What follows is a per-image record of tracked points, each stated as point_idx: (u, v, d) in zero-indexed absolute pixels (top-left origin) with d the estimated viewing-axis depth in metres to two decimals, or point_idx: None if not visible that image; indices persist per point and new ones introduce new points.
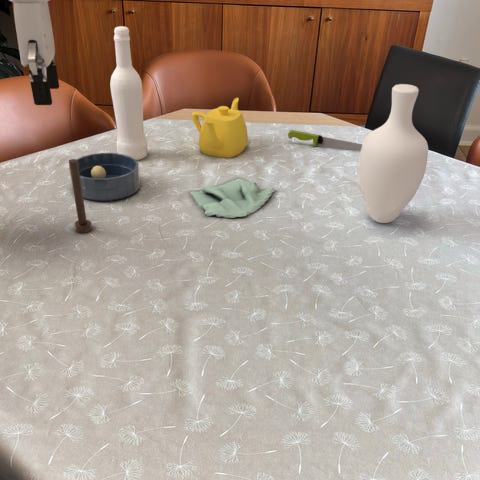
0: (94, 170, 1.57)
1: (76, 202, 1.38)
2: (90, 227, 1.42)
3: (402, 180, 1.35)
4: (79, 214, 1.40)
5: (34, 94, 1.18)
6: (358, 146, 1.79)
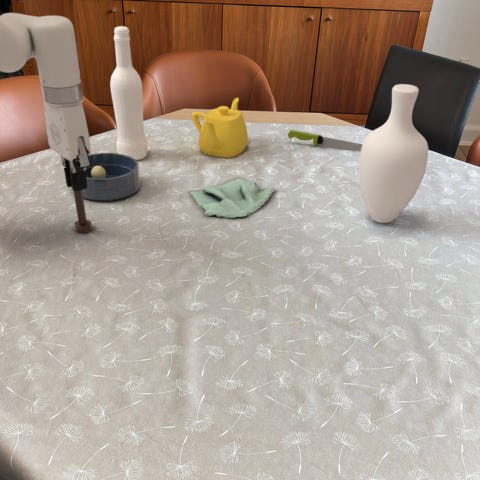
0: (94, 170, 1.57)
1: (76, 202, 1.38)
2: (90, 227, 1.42)
3: (402, 180, 1.35)
4: (79, 214, 1.40)
5: (73, 182, 1.34)
6: (358, 146, 1.79)
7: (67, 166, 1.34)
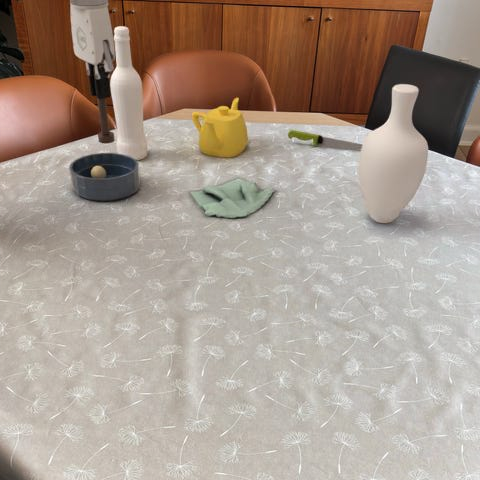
0: (94, 170, 1.57)
1: (100, 111, 1.43)
2: (113, 138, 1.47)
3: (402, 180, 1.35)
4: (103, 124, 1.45)
5: (98, 90, 1.39)
6: (358, 146, 1.79)
7: (91, 74, 1.39)
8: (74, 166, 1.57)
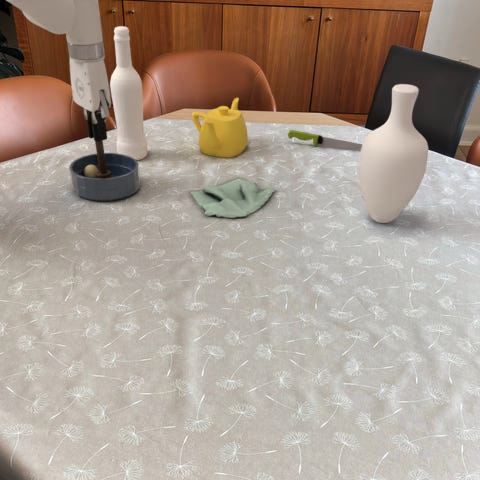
0: (84, 170, 1.58)
1: (97, 152, 1.54)
2: (110, 176, 1.58)
3: (402, 180, 1.35)
4: (100, 163, 1.56)
5: (95, 133, 1.50)
6: (358, 146, 1.79)
7: (89, 119, 1.50)
8: (74, 166, 1.57)
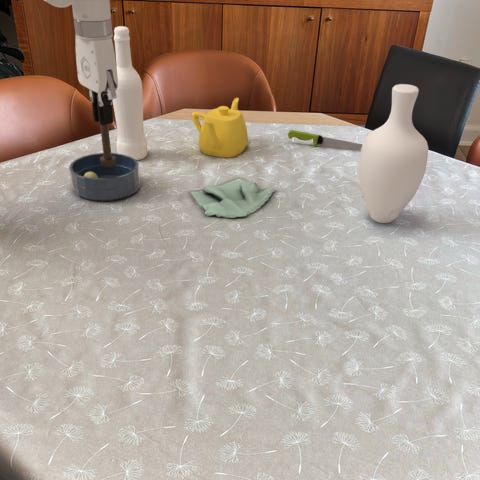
0: None
1: (102, 136, 1.48)
2: (114, 162, 1.51)
3: (402, 180, 1.35)
4: (105, 148, 1.49)
5: (101, 116, 1.43)
6: (358, 146, 1.79)
7: (95, 101, 1.43)
8: (74, 166, 1.57)
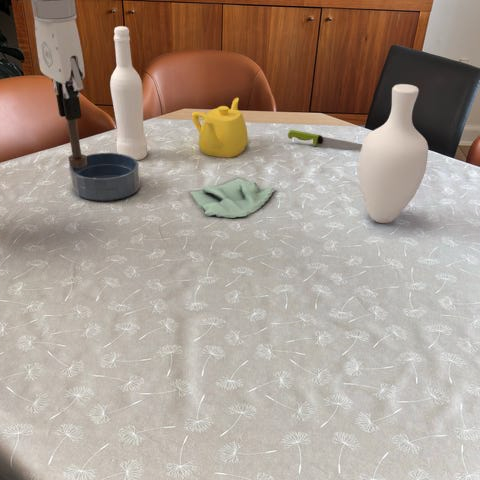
0: None
1: (70, 133, 1.30)
2: (85, 162, 1.34)
3: (402, 180, 1.35)
4: (73, 146, 1.32)
5: (67, 110, 1.26)
6: (358, 146, 1.79)
7: (60, 93, 1.26)
8: None
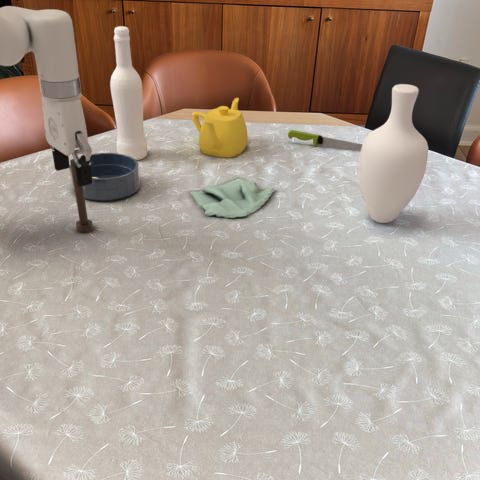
0: None
1: (77, 202, 1.38)
2: (91, 227, 1.42)
3: (402, 180, 1.35)
4: (81, 214, 1.40)
5: (78, 177, 1.30)
6: (358, 146, 1.79)
7: (55, 149, 1.34)
8: None
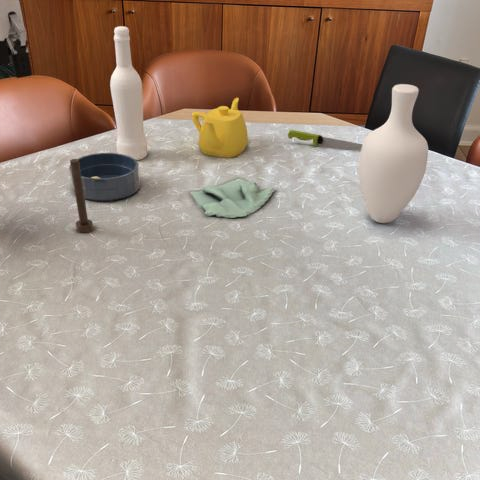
0: None
1: (77, 202, 1.38)
2: (91, 227, 1.42)
3: (402, 180, 1.35)
4: (81, 214, 1.40)
5: (15, 67, 1.21)
6: (358, 146, 1.79)
7: None
8: None
